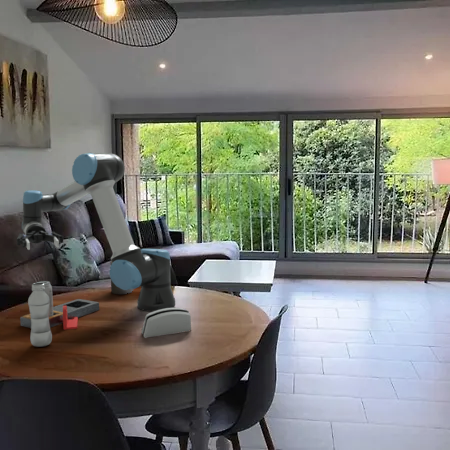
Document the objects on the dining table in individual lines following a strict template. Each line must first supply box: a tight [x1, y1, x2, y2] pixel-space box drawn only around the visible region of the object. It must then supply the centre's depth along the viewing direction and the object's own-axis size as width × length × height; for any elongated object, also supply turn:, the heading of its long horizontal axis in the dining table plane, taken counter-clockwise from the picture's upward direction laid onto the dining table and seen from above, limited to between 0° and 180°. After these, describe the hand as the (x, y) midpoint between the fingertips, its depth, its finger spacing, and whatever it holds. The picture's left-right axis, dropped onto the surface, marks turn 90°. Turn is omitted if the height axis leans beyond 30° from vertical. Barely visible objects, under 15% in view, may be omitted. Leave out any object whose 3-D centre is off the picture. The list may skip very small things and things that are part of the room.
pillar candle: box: [110, 260, 134, 295], centre depth 231 cm, size 10×10×15 cm
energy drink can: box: [36, 280, 54, 317], centre depth 187 cm, size 6×6×15 cm
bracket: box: [62, 305, 79, 330], centre depth 187 cm, size 12×4×8 cm, turn 15°
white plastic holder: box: [141, 307, 192, 339], centre depth 176 cm, size 17×5×10 cm, turn 114°
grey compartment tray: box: [19, 298, 100, 329], centre depth 194 cm, size 11×28×3 cm, turn 150°
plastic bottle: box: [27, 282, 53, 348], centre depth 164 cm, size 6×7×20 cm
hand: (43, 245), depth 193 cm, fingers open, 10 cm apart
